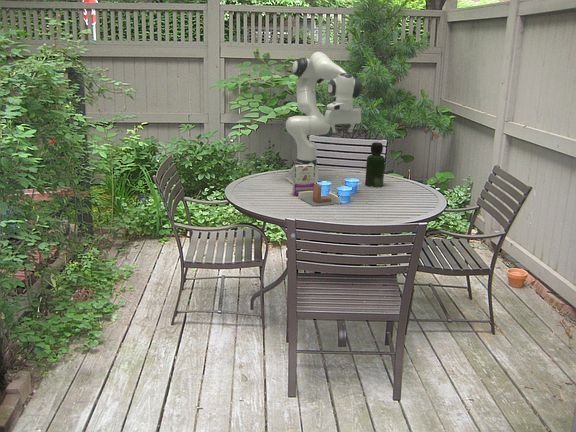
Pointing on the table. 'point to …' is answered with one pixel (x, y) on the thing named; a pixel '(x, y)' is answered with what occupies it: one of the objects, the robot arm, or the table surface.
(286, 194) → the table surface
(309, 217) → the table surface
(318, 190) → the angle bracket
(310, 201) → the slate mat
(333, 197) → the grey tray
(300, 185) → the candy bar box
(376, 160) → the dark green bottle
